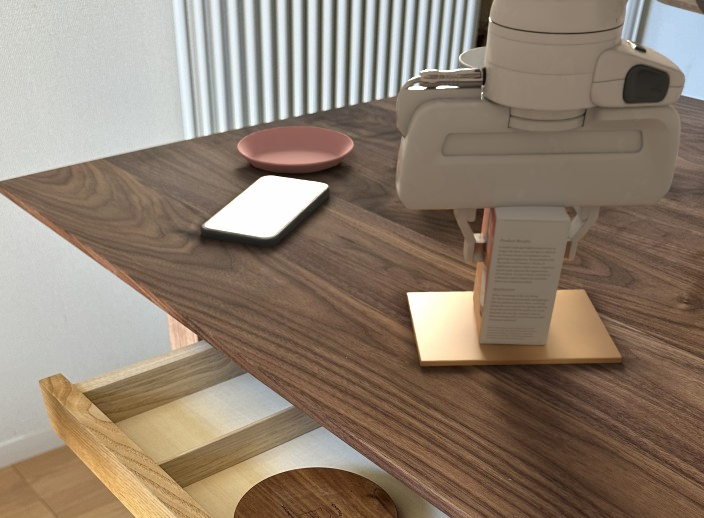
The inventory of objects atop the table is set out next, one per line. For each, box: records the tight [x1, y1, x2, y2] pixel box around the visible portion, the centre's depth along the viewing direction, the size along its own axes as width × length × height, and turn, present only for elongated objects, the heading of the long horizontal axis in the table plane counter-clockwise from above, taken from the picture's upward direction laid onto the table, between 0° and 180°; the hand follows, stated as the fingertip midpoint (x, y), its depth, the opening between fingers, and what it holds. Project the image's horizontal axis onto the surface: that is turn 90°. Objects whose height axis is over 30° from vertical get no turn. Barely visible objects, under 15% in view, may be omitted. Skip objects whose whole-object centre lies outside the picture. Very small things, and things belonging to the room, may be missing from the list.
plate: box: [236, 125, 355, 174], centre depth 105 cm, size 14×14×2 cm
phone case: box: [200, 175, 331, 248], centre depth 91 cm, size 9×2×16 cm
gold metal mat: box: [405, 289, 623, 367], centre depth 72 cm, size 16×12×1 cm
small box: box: [473, 206, 572, 345], centre depth 68 cm, size 8×6×10 cm
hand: (518, 258), depth 68 cm, fingers closed on small box, 6 cm apart
